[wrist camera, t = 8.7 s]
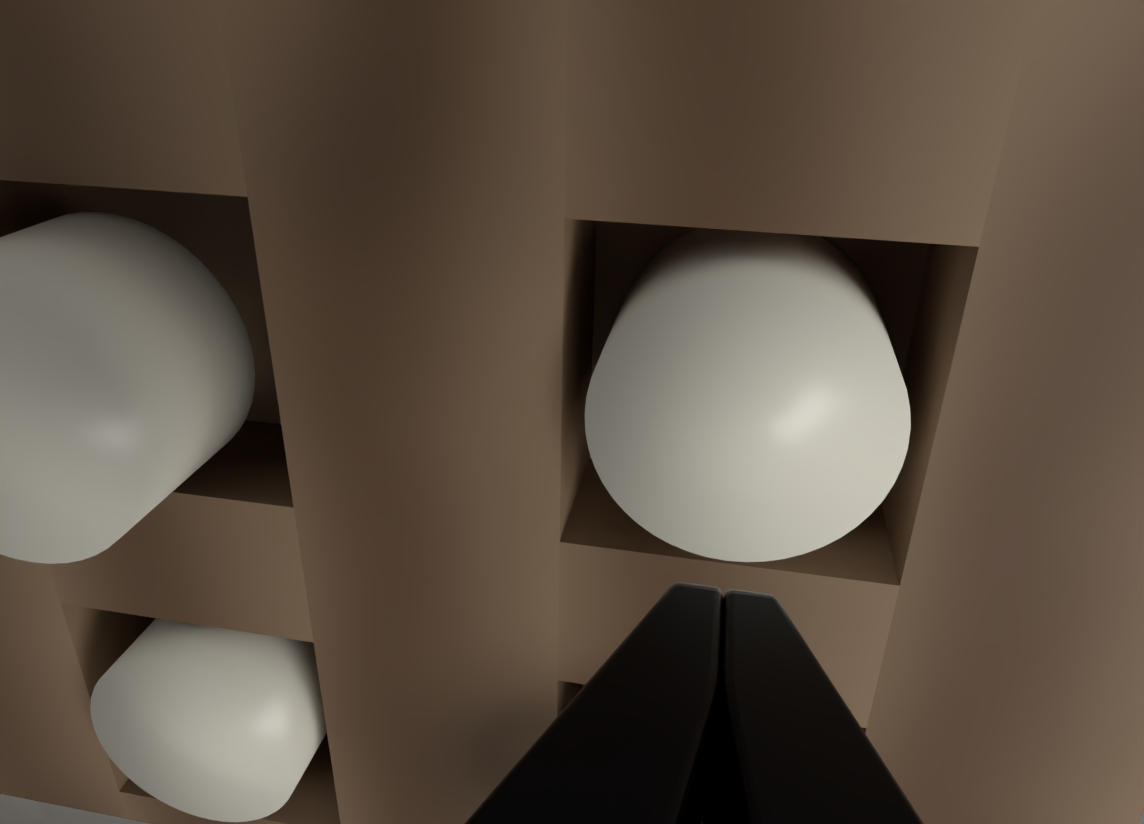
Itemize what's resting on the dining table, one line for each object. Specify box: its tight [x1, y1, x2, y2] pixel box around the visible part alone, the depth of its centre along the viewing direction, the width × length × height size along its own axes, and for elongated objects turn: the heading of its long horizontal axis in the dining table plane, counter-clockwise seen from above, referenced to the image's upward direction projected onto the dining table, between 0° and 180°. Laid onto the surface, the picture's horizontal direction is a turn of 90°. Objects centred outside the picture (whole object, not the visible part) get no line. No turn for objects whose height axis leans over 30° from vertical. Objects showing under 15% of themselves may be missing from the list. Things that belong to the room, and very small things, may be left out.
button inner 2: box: [90, 618, 327, 822], centre depth 17 cm, size 4×4×3 cm
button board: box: [0, 0, 1144, 824], centre depth 15 cm, size 22×16×3 cm
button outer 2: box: [0, 212, 255, 564], centre depth 12 cm, size 4×4×3 cm
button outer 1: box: [585, 228, 911, 562], centre depth 12 cm, size 4×4×3 cm
